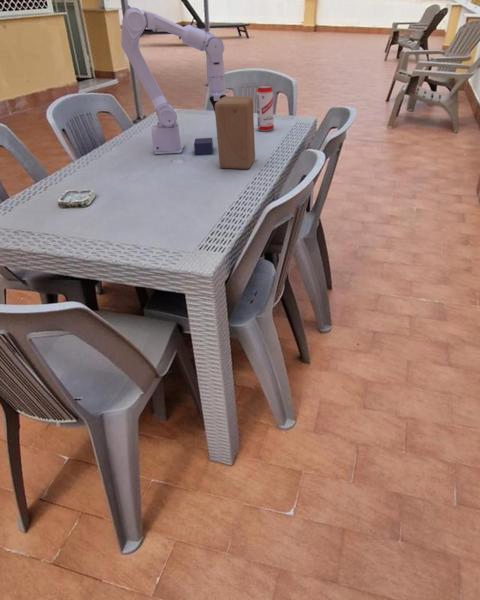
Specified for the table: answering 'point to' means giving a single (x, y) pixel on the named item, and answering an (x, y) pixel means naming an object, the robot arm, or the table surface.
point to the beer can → (265, 108)
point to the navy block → (203, 146)
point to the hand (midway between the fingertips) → (219, 118)
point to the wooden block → (235, 132)
